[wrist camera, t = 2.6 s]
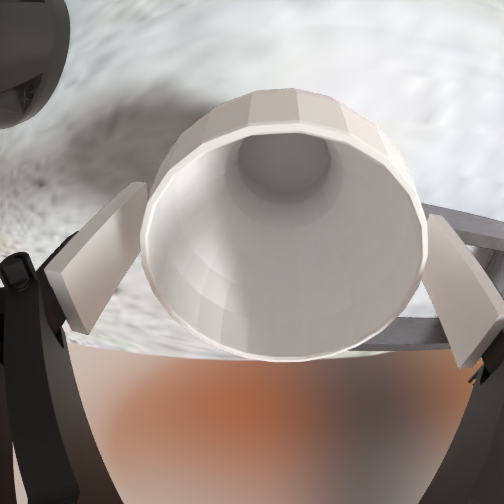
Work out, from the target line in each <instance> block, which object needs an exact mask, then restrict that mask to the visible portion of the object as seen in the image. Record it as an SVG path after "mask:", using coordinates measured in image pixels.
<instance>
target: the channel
mask: <svg viewBox="0 0 504 504" xmlns="http://www.w3.org/2000/svg"><path fill="white" fill-rule="evenodd" d="M421 205H422V208H423V211H424V214H425V217H426V220H428V217H429V214H435V215H440V216H443V218H444V219H445V220H446V221H447V222H448V223H449V225H450V226H451V227H452V228H453V230H454V231H455V232H456V233H457V235H458V236H459V237H460V238H461V240H462V241H463V242H464V244H465V245H471V246H477V247H483V248H489V249H495V250H496V251H495V253H494V255H493V257H492V259H491V261H490V263H489V265H488V267H487V269H486V271H485V273H486V274H487V275H488V277H489V278H490V279H491V280H492V281H493V283H494V284H495V286H496V287H497V289H498V291H499V292H500V293H501V295H502V298H504V222H501V221H497V220H493V219H489V218H485V217H481V216H477V215H473V214H469V213H464V212H460V211H455V210H451V209H446V208H442V207H437V206H432V205H427V204H422V203H421ZM440 349H451V347H450V344H449V341H448V339H447V336H446V334H445V331H444V329H443V327H442V324H441V322H440V319H439V318H401V317H397V318H396V319H395V320H393V321H392V322H391V323H390V324H389V325H388V326H387V327H386V328H385V329H384V330H383V331H382V332H380V333H378V334H377V335H375V336H374V337H372V338H370V339H369V340H367V341H366V342H364V343H362V344H361V345H359V346H357V347H354V348H352V349H349V351H411V350H412V351H415V350H440Z"/></svg>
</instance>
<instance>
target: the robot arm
mask: <svg viewBox="0 0 504 504" xmlns="http://www.w3.org/2000/svg"><path fill="white" fill-rule="evenodd" d="M69 39H70V20H69V14H68V10H67V6H66V4H65V2H64V0H0V129H5V128H9V127H12V126H14V125H17V124H19V123H21V122H24V121H26V120H28V119H30V118H31V117H33V116H34V115H35V114H37V113H38V112H39V111H40V110H41V109H42V108H43V106H44V105H45V104H46V103H47V101H48V100H49V98H50V97H51V95H52V93H53V92H54V90H55V88H56V86H57V84H58V81H59V79H60V77H61V74H62V71H63V68H64V65H65V61H66V57H67V53H68V47H69ZM147 200H148V191H147V182H131V183H130V184H129V185H128V186H126V187H125V188H124V189H123V190H122V191H121V192H120V193H119V194H117V195H116V196H115V197H114V198H113V199H112V200H111V201H110V202H109V203H108V204H107V205H105V206H104V207H103V208H102V209H101V210H100V211H99V212H98V213H97V214H96V215H95V216H94V217H93V218H92V219H91V220H90V221H89V222H88V223H87V224H86V225H85V226H84V227H83V228H82V229H81V230H80V231H77V232H75V233H74V234H72V235H71V236H69V237H67V238H66V239H65V240H64V241H63V243H62V244H61V245H60V247H58V248H57V249H56V250H55V251H54V253H52V254H51V255H50V256H49V257H48V259H47V260H46V261H45V262H44V263H43V264H42V265H41V266H40V267H39V269H38V270H37V271H35V269H34V267H33V264H32V262H31V259H30V256H29V254H27V253H26V252H18V253H14V254H12V255H10V256H8V257H7V258H5V259H4V260H3V261H2V262H1V263H0V278H1V280H2V282H3V284H4V286H5V287H1V288H0V504H17V501H16V493H15V483H14V470H13V445H12V444H14V449H15V453H16V458H17V462H18V465H19V470H20V473H21V477H22V481H23V484H24V487H25V490H26V494H27V498H28V504H124V503H123V502H122V500H121V498H120V496H119V494H118V492H117V490H116V488H115V486H114V484H113V482H112V480H111V478H110V475H109V473H108V471H107V469H106V467H105V464H104V462H103V460H102V457H101V455H100V452H99V450H98V448H97V445H96V442H95V440H94V437H93V435H92V432H91V429H90V426H89V423H88V420H87V418H86V414H85V411H84V408H83V405H82V402H81V398H80V395H79V391H78V388H77V384H76V381H75V377H74V373H73V369H72V365H71V361H70V357H69V351H68V347H67V342H66V337H65V332H64V330H63V328H62V325H63V323H64V322H65V320H67V322H68V324H69V326H70V328H71V330H72V331H75V332H79V333H82V334H86V335H89V334H90V332H91V330H92V328H93V327H94V325H95V323H96V321H97V320H98V318H99V316H100V315H101V313H102V311H103V309H104V308H105V306H106V304H107V303H108V301H109V300H110V298H111V296H112V295H113V293H114V291H115V290H116V288H117V287H118V285H119V284H120V282H121V280H122V279H123V277H124V276H125V274H126V273H127V271H128V270H129V268H130V266H131V265H132V263H133V262H134V260H135V259H136V257H137V256H138V254H139V253H140V251H141V249H140V236H139V232H140V228H141V223H142V219H143V215H144V211H145V207H146V203H147ZM427 233H428V257H427V260H426V264H425V267H424V271H423V274H422V278H421V280H422V282H423V284H424V286H425V288H426V290H427V292H428V295H429V297H430V299H431V301H432V303H433V306H434V308H435V310H436V312H437V315H438V317H439V319H440V322H441V324H442V327H443V329H444V331H445V334H446V336H447V339H448V341H449V344H450V347H451V349H452V352H453V355H454V357H455V360H456V363H457V366H458V369H461V368H469V367H473V366H474V365H475V364H476V362H477V361H478V360H479V359H480V357H482V359H483V362H484V364H483V365H482V366H481V367H480V368H479V369H478V370H477V371H476V373H475V374H474V375H473V376H472V377H471V378H470V380H469V381H468V382H469V383H470V382H472V380H473V379H476V381H475V383H474V384H473V386H474V387H473V390H472V393H471V396H470V399H469V402H468V404H467V407H466V410H465V412H464V415H463V417H462V420H461V422H460V425H459V427H458V430H457V432H456V434H455V436H454V439H453V441H452V443H451V445H450V448H449V449H448V451H447V454H446V455H445V458H444V459H443V462H442V463H441V465H440V467H439V469H438V471H437V473H436V475H435V476H434V478H433V480H432V482H431V484H430V485H429V487H428V488H427V490H426V492H425V493H424V495H423V497H422V498H421V500H420V502H419V503H418V504H504V298H502V295H501V293H500V292H499V291H498V289H497V287H496V286H495V284H494V283H493V281H492V280H491V279H490V278H489V277H488V275H487V274H486V273H485V271H484V270H483V268H482V267H481V265H480V264H479V263H478V261H477V260H476V258H475V257H474V256H473V254H472V253H471V252H470V250H469V249H468V248H467V246H466V245H465V244H464V242H463V241H462V240H461V238H460V237H459V236H458V235H457V233H456V232H455V231H454V230H453V228H452V227H451V226H450V225H449V223H448V222H447V221H446V220H445V219H444V218H443V216H440V215H435V214H429V217H428V220H427ZM12 442H13V443H12Z"/></svg>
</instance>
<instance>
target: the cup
mask: <svg viewBox="0 0 504 504" xmlns="http://www.w3.org/2000/svg"><path fill="white" fill-rule="evenodd" d="M139 236H140V249H141V260H142V266H143V269H144V271H145V274H146V277H147V279H148V282H149V284H150V287H151V289H152V291H153V293H154V295H155V296H156V298H157V299H158V300H159V302H160V303H161V304H162V306H163V307H164V308H165V310H166V311H167V312H168V314H169V315H170V316H171V317H172V318H173V319H174V320H176V321H177V322H178V323H179V324H180V325H181V326H183V327H184V328H185V329H186V330H187V331H188V332H190V333H191V334H192V335H194V336H196V337H197V338H199V339H201V340H203V341H205V342H206V343H208V344H210V345H212V346H214V347H216V348H218V349H221V350H223V351H226V352H229V353H232V354H235V355H238V356H241V357H244V358H250V359H257V360H263V361H270V362H301V361H308V360H314V359H319V358H325V357H330V356H333V355H336V354H338V353H341V352H344V351H346V350H349V349H352V348H354V347H357V346H359V345H361V344H362V343H364V342H366V341H367V340H369V339H370V338H372V337H374V336H375V335H377V334H378V333H380V332H382V331H383V330H384V329H385V328H386V327H387V326H388V325H389V324H390V323H391V322H392V321H393V320H395V319H396V318H397V317H398V316H399V315H400V314H401V313H402V312H403V311H404V309H405V308H406V306H407V304H408V303H409V301H410V300H411V298H412V296H413V295H414V293H415V292H416V290H417V288H418V287H419V284H420V281H421V278H422V274H423V271H424V267H425V264H426V260H427V257H428V233H427V220H426V217H425V214H424V211H423V208H422V205H421V202H420V200H419V197H418V194H417V191H416V188H415V186H414V183H413V181H412V178H411V176H410V174H409V171H408V169H407V167H406V164H405V162H404V160H403V158H402V155H401V153H400V151H399V150H398V149H397V148H396V147H395V146H394V144H393V143H392V142H391V141H390V140H389V139H388V137H387V136H386V135H385V134H384V133H383V132H382V131H381V130H380V129H379V127H378V126H377V125H376V124H375V123H373V122H372V121H370V120H369V119H367V118H365V117H364V116H362V115H361V114H359V113H357V112H356V111H354V110H352V109H351V108H349V107H347V106H345V105H344V104H342V103H340V102H338V101H336V100H335V99H333V98H331V97H329V96H325V95H321V94H317V93H313V92H308V91H304V90H299V89H294V88H291V89H272V90H259V91H255V92H252V93H249V94H246V95H243V96H241V97H238V98H235V99H233V100H230V101H228V102H225V103H223V104H221V105H219V106H218V107H216V108H214V109H212V110H211V111H210V112H208V113H207V114H206V115H204V116H203V117H202V118H201V119H199V120H198V121H197V122H195V123H194V124H193V125H192V126H190V127H189V128H188V129H187V130H186V131H184V132H183V133H182V134H181V135H180V136H179V138H178V139H177V141H176V142H175V144H174V145H173V147H172V148H171V149H170V151H169V152H168V154H167V155H166V157H165V158H164V160H163V162H162V163H161V165H160V167H159V170H158V173H157V175H156V178H155V180H154V183H153V186H152V189H151V191H150V194H149V197H148V200H147V203H146V207H145V211H144V215H143V219H142V223H141V228H140V232H139Z"/></svg>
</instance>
